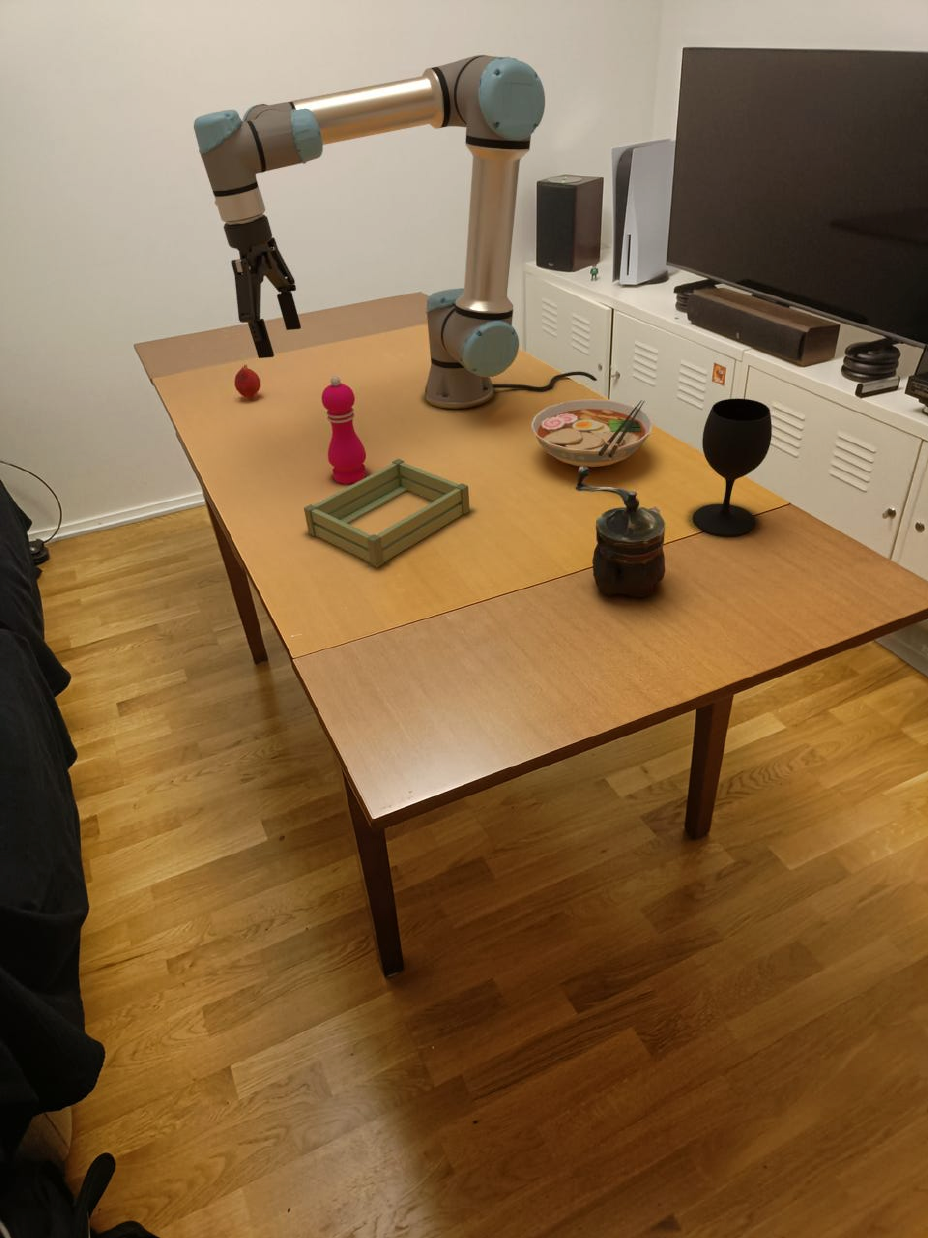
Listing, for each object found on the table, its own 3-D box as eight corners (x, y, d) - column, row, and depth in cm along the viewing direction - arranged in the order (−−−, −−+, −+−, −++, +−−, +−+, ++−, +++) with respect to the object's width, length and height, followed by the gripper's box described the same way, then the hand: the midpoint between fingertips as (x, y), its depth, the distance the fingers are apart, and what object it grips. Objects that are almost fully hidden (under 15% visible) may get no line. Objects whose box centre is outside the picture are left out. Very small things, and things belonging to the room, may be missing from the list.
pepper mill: (332, 469, 166) (315, 370, 154) (368, 466, 167) (355, 367, 154) (330, 486, 161) (313, 385, 148) (368, 483, 161) (354, 382, 149)
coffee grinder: (587, 553, 138) (591, 452, 127) (675, 575, 131) (687, 471, 120) (553, 594, 129) (554, 489, 118) (645, 620, 123) (655, 512, 112)
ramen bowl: (557, 424, 177) (558, 386, 172) (665, 440, 168) (669, 401, 163) (510, 477, 159) (509, 438, 154) (627, 498, 151) (630, 457, 146)
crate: (401, 483, 160) (398, 458, 157) (469, 511, 150) (468, 485, 147) (308, 533, 147) (303, 507, 144) (377, 568, 138) (373, 541, 134)
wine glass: (757, 509, 145) (777, 398, 133) (753, 540, 138) (774, 426, 126) (696, 502, 148) (710, 393, 136) (688, 532, 141) (702, 420, 129)
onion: (257, 403, 195) (250, 370, 190) (234, 402, 196) (226, 369, 191) (267, 393, 199) (260, 360, 194) (244, 392, 200) (236, 359, 195)
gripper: (253, 202, 152) (286, 319, 165) (191, 242, 133) (234, 371, 146) (291, 197, 150) (322, 316, 163) (234, 236, 131) (273, 367, 144)
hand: (280, 342), depth 155 cm, fingers open, 13 cm apart
